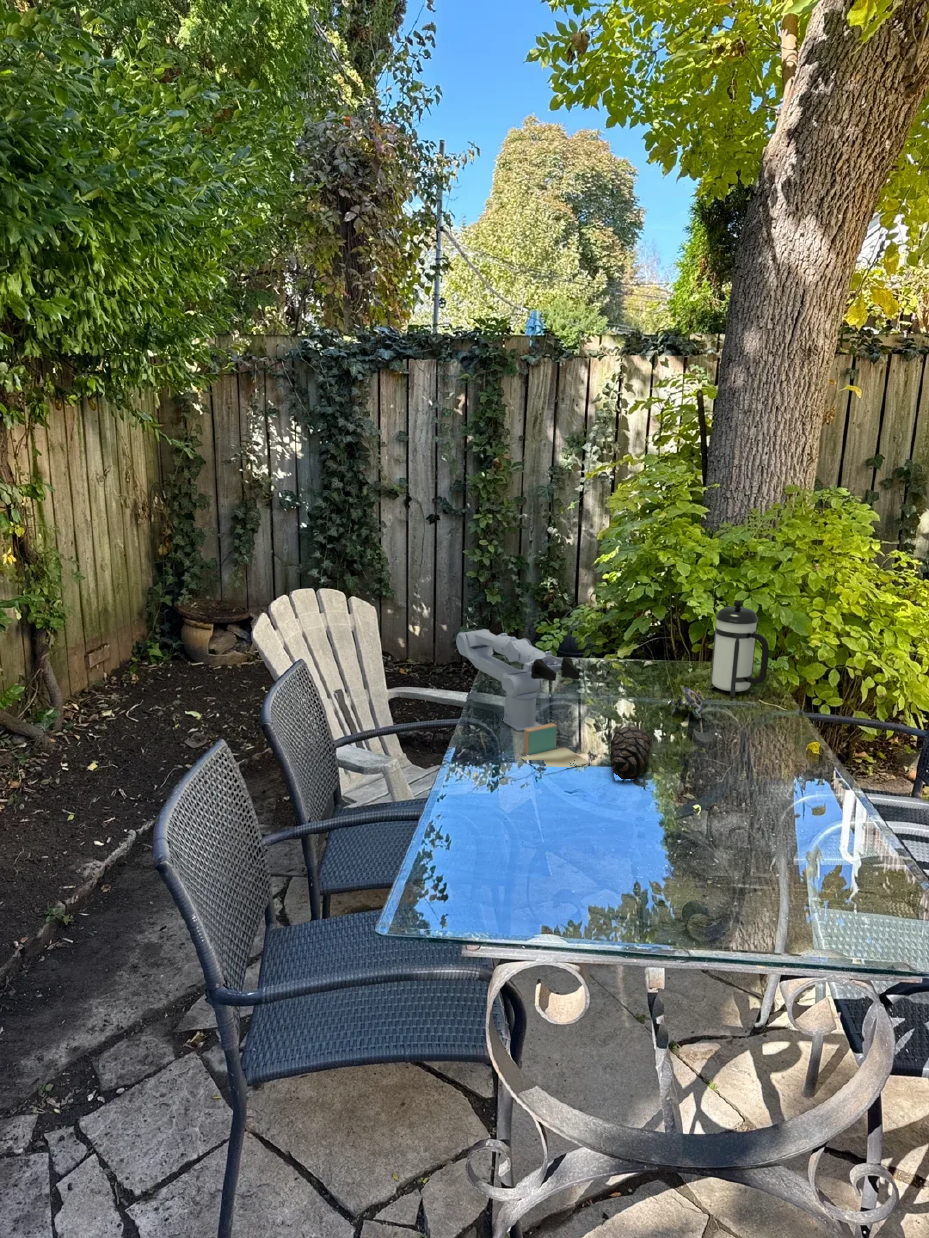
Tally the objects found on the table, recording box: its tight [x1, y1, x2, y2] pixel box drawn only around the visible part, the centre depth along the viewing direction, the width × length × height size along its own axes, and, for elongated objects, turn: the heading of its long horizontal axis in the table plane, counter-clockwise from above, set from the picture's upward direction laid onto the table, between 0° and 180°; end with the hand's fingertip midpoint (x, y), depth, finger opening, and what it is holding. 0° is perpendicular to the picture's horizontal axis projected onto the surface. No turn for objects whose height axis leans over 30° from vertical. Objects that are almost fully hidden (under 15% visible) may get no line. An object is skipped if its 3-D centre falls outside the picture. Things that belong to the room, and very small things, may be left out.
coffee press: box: [706, 600, 770, 699], centre depth 253 cm, size 17×16×30 cm
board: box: [520, 746, 591, 768], centre depth 205 cm, size 11×14×1 cm
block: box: [523, 722, 558, 755], centre depth 210 cm, size 2×9×7 cm, turn 118°
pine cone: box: [609, 726, 653, 780], centre depth 199 cm, size 10×18×10 cm, turn 168°
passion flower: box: [665, 684, 707, 720], centre depth 235 cm, size 11×11×12 cm
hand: (566, 676), depth 207 cm, fingers open, 7 cm apart
